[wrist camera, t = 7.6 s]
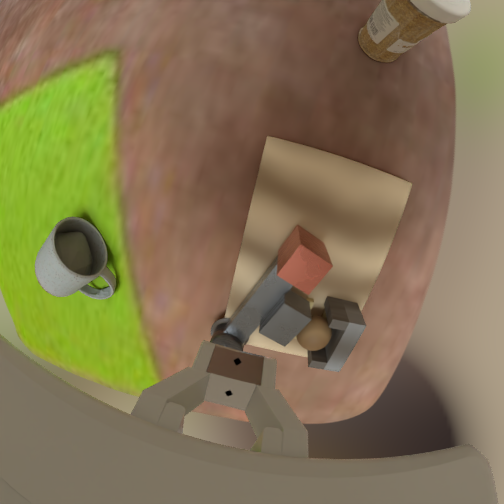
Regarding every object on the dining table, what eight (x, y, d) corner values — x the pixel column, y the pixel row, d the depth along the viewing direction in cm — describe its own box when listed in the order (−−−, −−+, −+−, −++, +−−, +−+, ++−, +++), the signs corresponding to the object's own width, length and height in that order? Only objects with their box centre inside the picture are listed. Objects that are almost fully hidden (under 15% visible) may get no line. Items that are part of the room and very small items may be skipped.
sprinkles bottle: (394, 71, 19) (473, 29, 6) (351, 51, 19) (405, -16, 6) (402, 38, 17) (472, -13, 4) (361, 18, 17) (410, -53, 4)
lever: (294, 221, 24) (297, 242, 19) (344, 256, 24) (356, 282, 20) (208, 336, 30) (196, 368, 25) (251, 359, 30) (245, 392, 26)
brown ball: (301, 305, 27) (303, 326, 23) (334, 312, 27) (339, 334, 23) (291, 331, 28) (291, 354, 25) (322, 338, 28) (325, 360, 25)
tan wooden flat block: (255, 133, 23) (247, 129, 18) (405, 181, 23) (432, 191, 18) (211, 333, 32) (200, 364, 27) (328, 359, 32) (333, 392, 27)
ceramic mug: (56, 241, 30) (19, 264, 23) (84, 207, 28) (41, 229, 21) (99, 302, 33) (69, 334, 26) (133, 278, 31) (101, 313, 23)
